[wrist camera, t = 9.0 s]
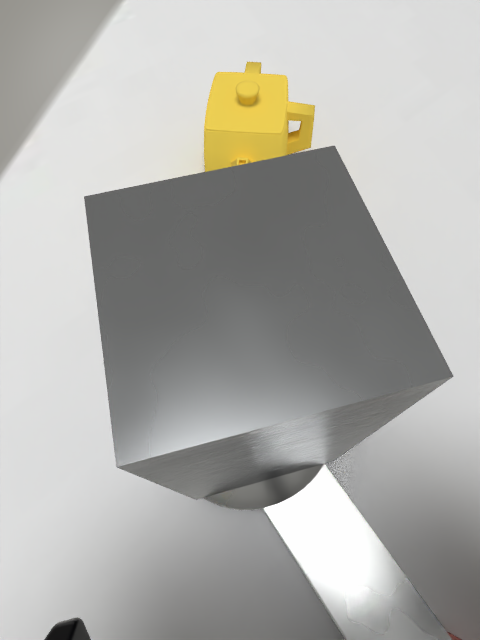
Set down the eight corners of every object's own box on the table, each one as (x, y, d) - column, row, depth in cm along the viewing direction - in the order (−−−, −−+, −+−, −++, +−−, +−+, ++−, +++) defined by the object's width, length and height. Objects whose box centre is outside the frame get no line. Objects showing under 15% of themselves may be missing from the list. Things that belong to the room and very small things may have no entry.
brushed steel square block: (332, 461, 15) (453, 376, 6) (196, 500, 15) (116, 466, 6) (290, 337, 18) (334, 145, 9) (170, 367, 17) (84, 196, 8)
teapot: (303, 228, 23) (318, 152, 18) (200, 220, 23) (188, 144, 18) (307, 128, 26) (320, 43, 22) (217, 123, 26) (212, 39, 22)
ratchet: (627, 787, 13) (786, 899, 9) (471, 985, 11) (586, 1224, 7) (265, 322, 20) (269, 276, 16) (138, 401, 18) (110, 370, 15)
